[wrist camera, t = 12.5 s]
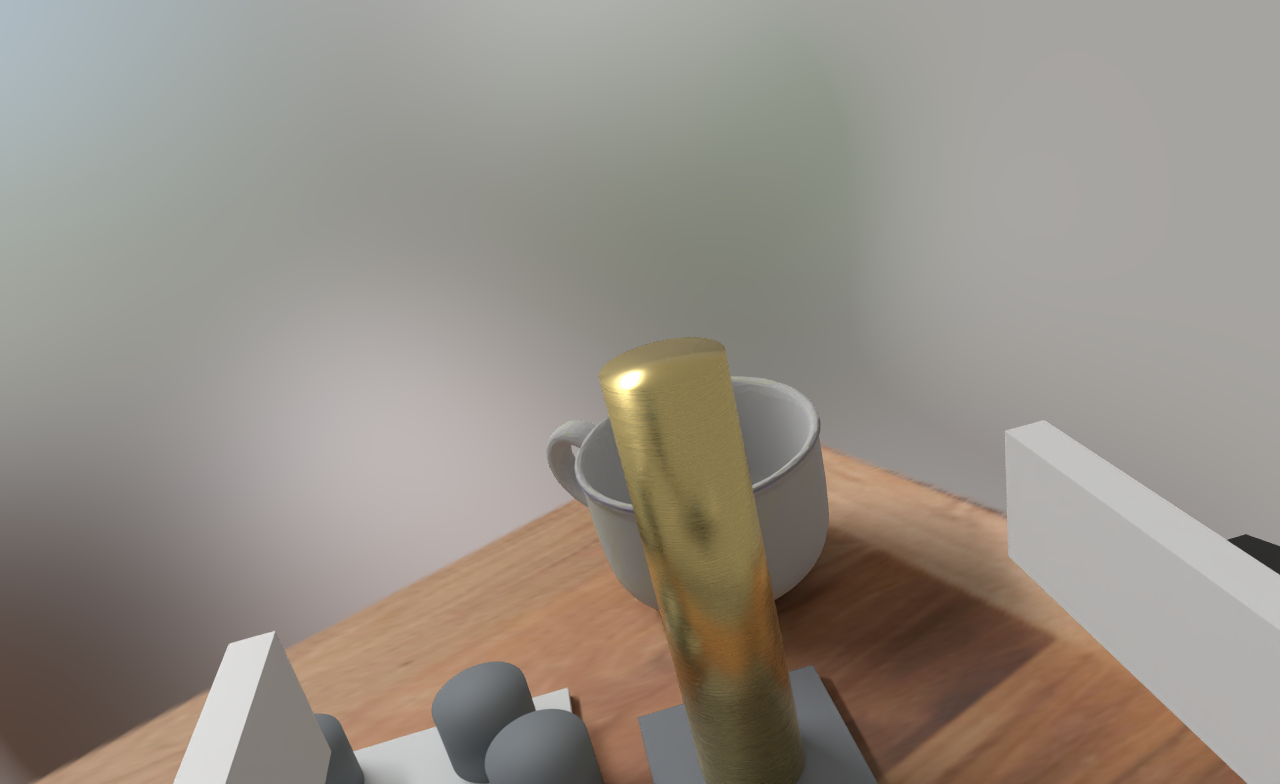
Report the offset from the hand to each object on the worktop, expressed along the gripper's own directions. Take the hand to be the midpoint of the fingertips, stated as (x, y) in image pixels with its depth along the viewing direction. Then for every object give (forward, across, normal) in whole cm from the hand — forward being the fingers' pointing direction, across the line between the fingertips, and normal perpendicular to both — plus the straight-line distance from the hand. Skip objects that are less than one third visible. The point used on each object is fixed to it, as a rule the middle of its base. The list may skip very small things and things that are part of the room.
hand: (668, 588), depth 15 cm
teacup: (+22, +3, -16) cm, 27 cm away
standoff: (+9, +2, -15) cm, 17 cm away
